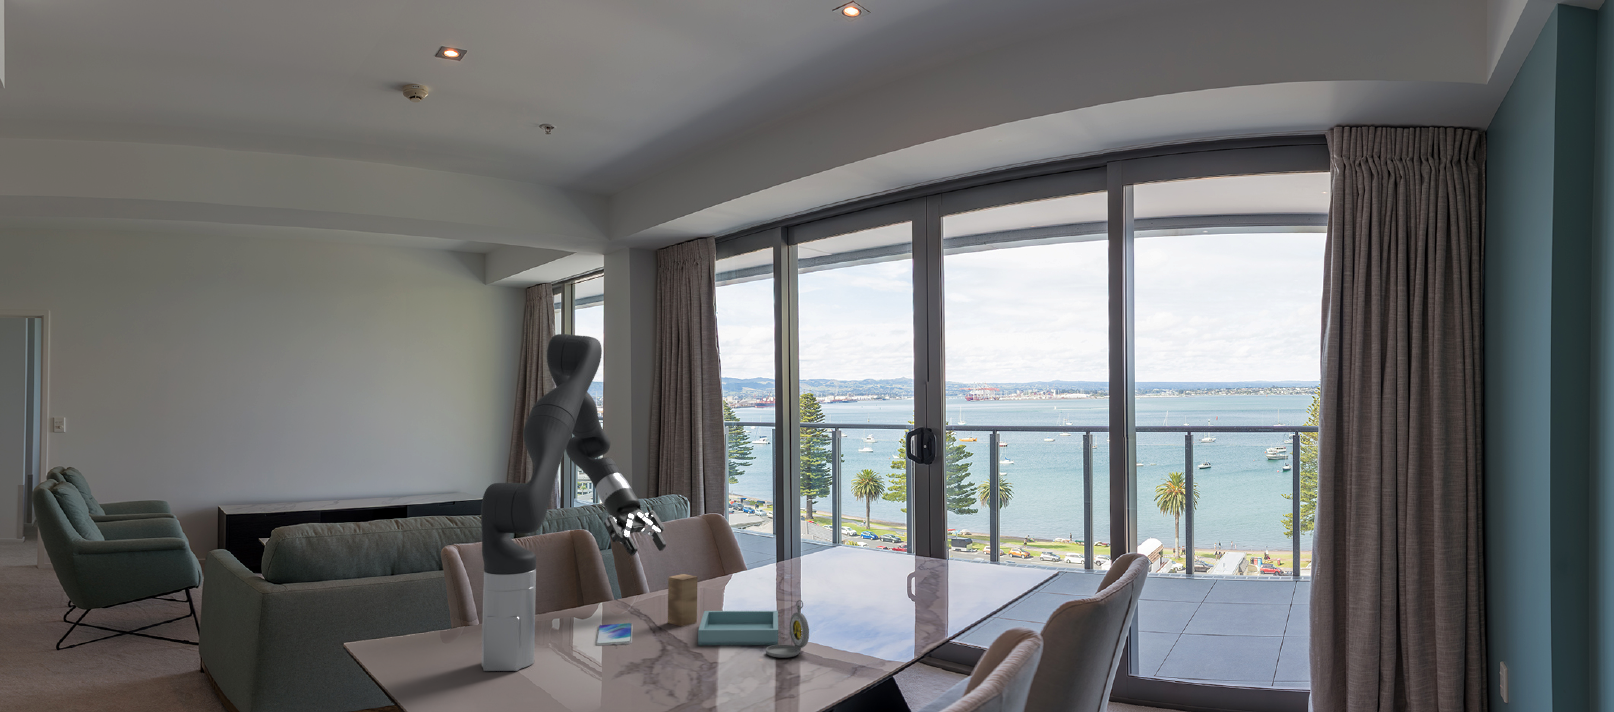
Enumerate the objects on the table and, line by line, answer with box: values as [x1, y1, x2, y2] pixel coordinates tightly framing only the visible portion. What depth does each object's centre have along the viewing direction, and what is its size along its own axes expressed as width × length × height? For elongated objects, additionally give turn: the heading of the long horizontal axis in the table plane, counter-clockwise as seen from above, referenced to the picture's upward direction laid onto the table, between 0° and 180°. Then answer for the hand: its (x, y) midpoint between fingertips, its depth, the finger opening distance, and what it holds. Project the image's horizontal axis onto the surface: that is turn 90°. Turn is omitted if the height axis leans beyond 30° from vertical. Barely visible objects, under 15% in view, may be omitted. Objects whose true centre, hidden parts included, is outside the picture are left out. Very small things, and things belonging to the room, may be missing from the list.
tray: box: [697, 610, 779, 646], centre depth 184 cm, size 16×16×3 cm
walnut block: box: [667, 573, 698, 627], centre depth 193 cm, size 4×4×10 cm
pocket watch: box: [765, 599, 810, 659], centre depth 170 cm, size 8×8×10 cm
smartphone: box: [594, 622, 633, 647], centre depth 183 cm, size 7×1×15 cm
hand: (649, 550), depth 201 cm, fingers open, 8 cm apart
